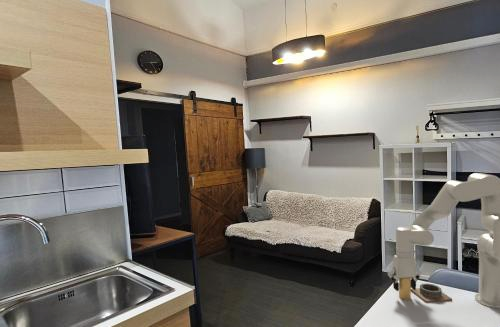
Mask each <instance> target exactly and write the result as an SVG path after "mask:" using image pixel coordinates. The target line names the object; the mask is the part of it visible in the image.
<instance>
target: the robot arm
mask: <svg viewBox="0 0 500 327" xmlns="http://www.w3.org/2000/svg"><path fill="white" fill-rule="evenodd" d="M479 199H480V203H481V213H480V214H481V216H480V217H481V218H480V223H481V226H482V227H483V228H484V229H485V230H487V231H489V232H488V233H487V232H486V233H483V234H480V236H479V237H478V239H477V242H476V246H477V253H478V293H475V294H474V300H475V301H476V302H477V303H479V304H481V305H483V306H484V307H488V308H491V309H492V308H493V309H497V308H500V178H499V177H498V176H497V175H493V174H487V173H483V172H482V173H480V172H474V173H472V174H470V175H469V176H468V177H467V181H460V180H455V179H454V180H449V181H446V183H445V184H444V185H443V186H442V188H440V190H439V191H438V194H437V195H436V197H435V198H434V199H433V201H432V202H431V203H430V205H429V206H427V207H426V208H425V209H424V210H423V211H422V212H420V213H419V214H418V215H417V216H416V218H415V219H414V221H413V222H412V223H411V225H410V227H406V226H399V227H397V228H396V229H395V255H394V256H393V259H392V264H391V265H392V266H391V270H390V271H388V272H387V276H388V277H389V278H390V280H392V281H393V282H392V283H393V289H394V290H395V291H396V292H399V279H400V278H411V289H414V290H416V289H417V282H418V280H419V279H420V277H421V275H422V274H423V272H422V271H421V270H420V269H418V268H417V261H416V257H415V254H416V250H414V245H417V246H423V247H426V246H431V245H432V244H433V243H434V240H435V237H434V234H433V233H432V232H431V231H430V230H429V229H430V227H431V226H432V224H434V223H435V222H437V221H438V220H441V219H444V218H447V217H449V216H450V215H451V214H452V212H453V210H454V209H455V208H456V206H457V205H458V203H459V202H462V203H463V202H471V201H475V200H479Z"/></svg>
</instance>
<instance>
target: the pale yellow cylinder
mask: <svg viewBox="0 0 500 327" xmlns="http://www.w3.org/2000/svg"><path fill="white" fill-rule="evenodd" d="M411 279H412V278H411V277H410V278H400V279H399V281H398V283H399V291H398V297H399V298H400V299H401V300H405V301H409V300H411V297H412V294H411V293H412V291H411V289H412V288H411Z"/></svg>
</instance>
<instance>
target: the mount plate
mask: <svg viewBox="0 0 500 327" xmlns="http://www.w3.org/2000/svg"><path fill="white" fill-rule="evenodd" d="M411 293H413V294H414V295H415V296H417V298H419V299H420V300H421V301H423V302H424V303H435V302H439V303H440V302H449V301H453V298H452V297H450V296H448V295H447V294H445V293H444V292H443V290H442V288H441V287H440V286H438V285H436V284H432V283H421V284H419V288H417V287H416V290H414V289H412V288H411Z"/></svg>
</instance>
